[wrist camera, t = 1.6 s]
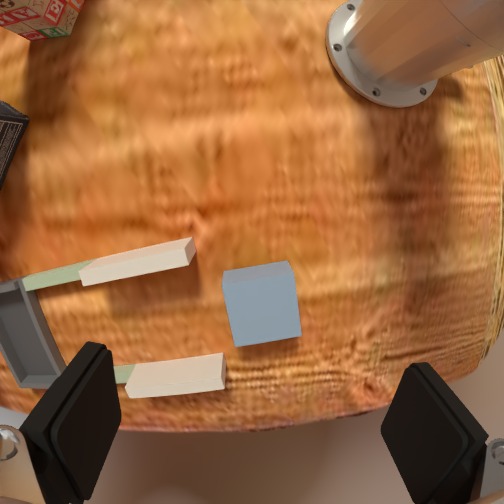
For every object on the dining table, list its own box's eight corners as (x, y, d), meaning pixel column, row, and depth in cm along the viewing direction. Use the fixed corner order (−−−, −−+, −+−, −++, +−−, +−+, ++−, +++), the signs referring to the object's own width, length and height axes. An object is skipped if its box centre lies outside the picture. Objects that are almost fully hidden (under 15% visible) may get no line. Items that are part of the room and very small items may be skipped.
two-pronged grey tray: (192, 236, 29) (184, 248, 24) (226, 363, 32) (224, 388, 28) (-13, 285, 29) (-34, 297, 25) (28, 378, 33) (12, 396, 28)
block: (287, 259, 30) (293, 273, 26) (294, 316, 31) (301, 335, 27) (223, 270, 30) (221, 285, 26) (235, 326, 31) (235, 347, 28)
